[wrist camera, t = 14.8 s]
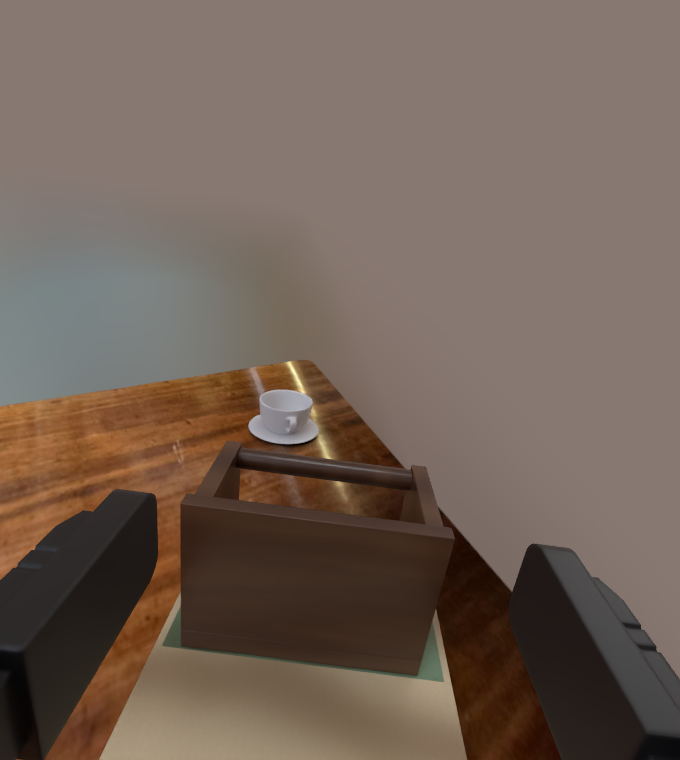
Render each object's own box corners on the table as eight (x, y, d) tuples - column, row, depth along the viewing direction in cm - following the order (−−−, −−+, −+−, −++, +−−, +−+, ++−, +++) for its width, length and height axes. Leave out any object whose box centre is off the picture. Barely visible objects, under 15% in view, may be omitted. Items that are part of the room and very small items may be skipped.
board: (558, 1242, 13) (566, 1236, 13) (-90, 1166, 13) (-95, 1157, 13) (423, 563, 39) (425, 557, 39) (210, 536, 39) (210, 529, 39)
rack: (417, 676, 28) (455, 538, 24) (180, 646, 28) (180, 503, 24) (402, 564, 38) (427, 452, 34) (224, 541, 38) (229, 426, 34)
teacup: (244, 415, 63) (245, 386, 62) (308, 413, 67) (311, 386, 65) (253, 449, 55) (256, 416, 53) (327, 445, 58) (331, 414, 56)
